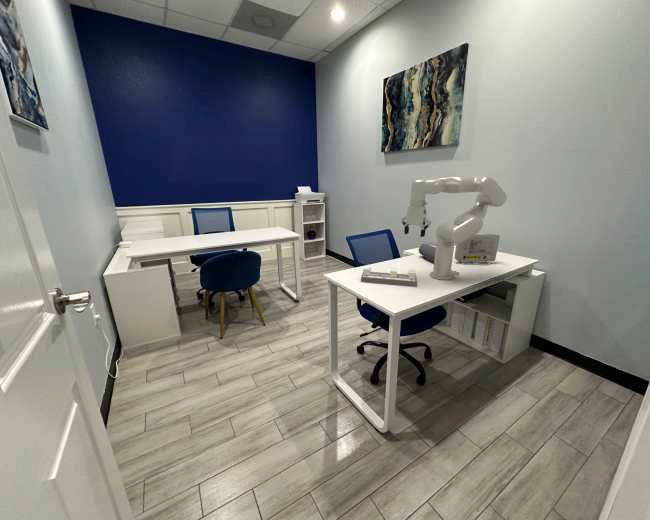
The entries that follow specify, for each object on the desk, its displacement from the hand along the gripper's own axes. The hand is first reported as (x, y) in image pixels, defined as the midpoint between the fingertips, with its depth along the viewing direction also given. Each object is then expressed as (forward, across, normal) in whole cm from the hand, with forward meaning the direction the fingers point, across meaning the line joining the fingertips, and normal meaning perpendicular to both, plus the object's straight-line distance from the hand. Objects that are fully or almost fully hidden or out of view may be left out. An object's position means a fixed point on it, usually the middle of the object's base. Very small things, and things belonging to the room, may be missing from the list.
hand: (414, 235), depth 153 cm
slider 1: (+23, +17, +18) cm, 34 cm away
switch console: (+26, +7, +12) cm, 29 cm away
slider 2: (+23, -4, +5) cm, 23 cm away
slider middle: (+23, +5, +10) cm, 25 cm away
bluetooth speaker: (+26, +8, -42) cm, 50 cm away
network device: (+26, -14, -57) cm, 65 cm away
